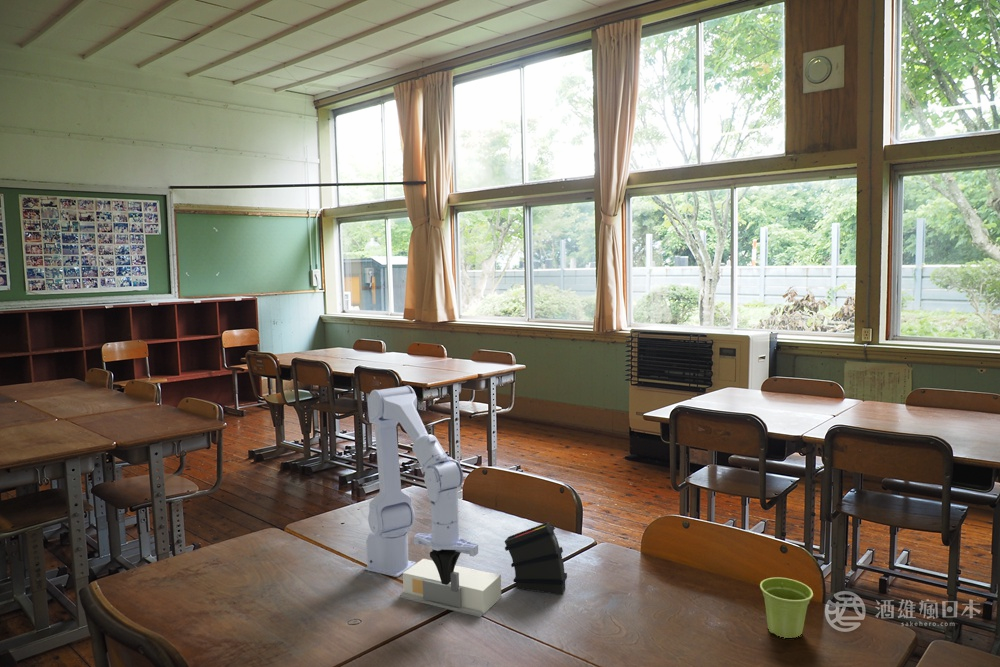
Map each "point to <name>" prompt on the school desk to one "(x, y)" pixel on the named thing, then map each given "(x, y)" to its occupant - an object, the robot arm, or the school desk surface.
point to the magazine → (537, 560)
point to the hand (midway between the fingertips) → (446, 582)
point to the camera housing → (475, 586)
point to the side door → (443, 591)
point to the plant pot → (785, 605)
